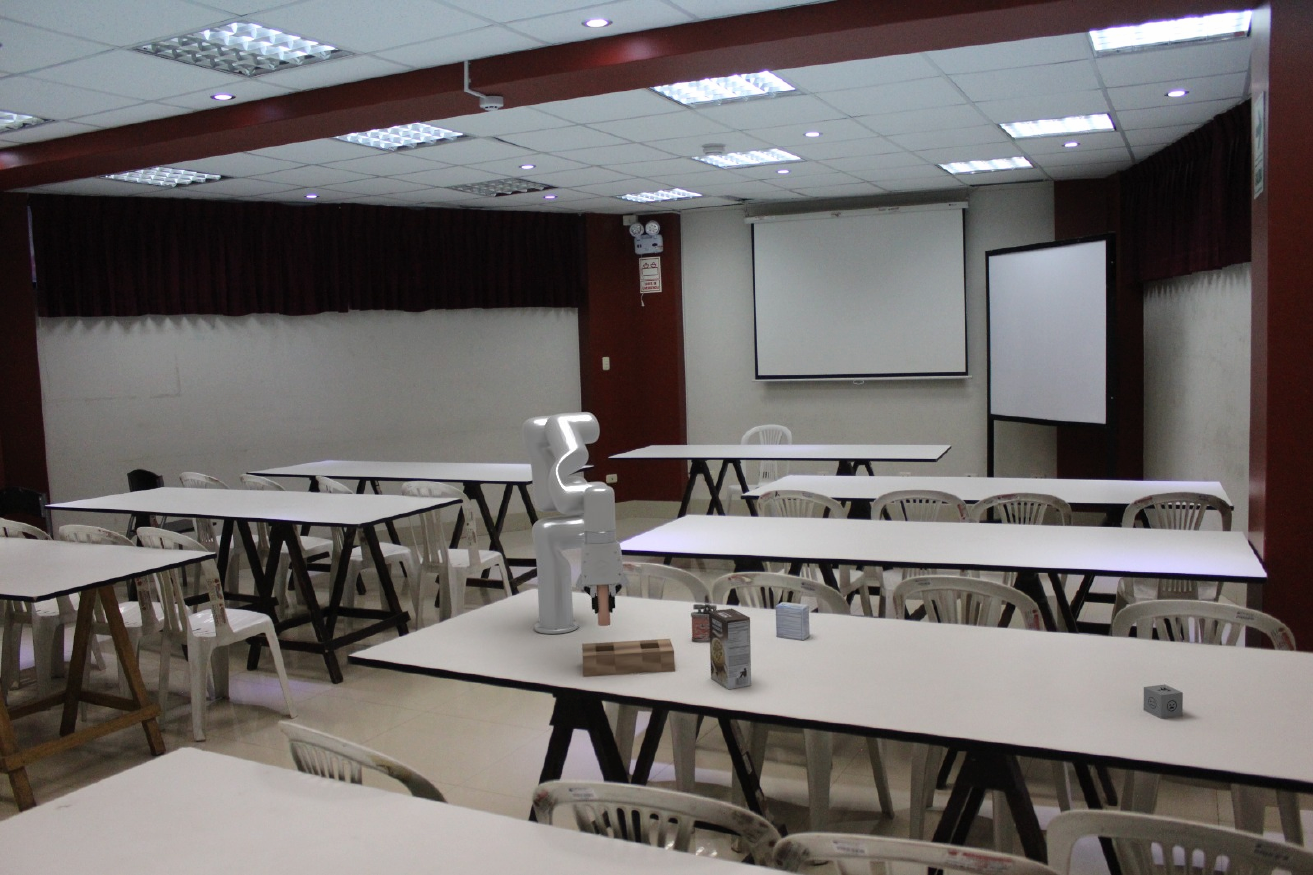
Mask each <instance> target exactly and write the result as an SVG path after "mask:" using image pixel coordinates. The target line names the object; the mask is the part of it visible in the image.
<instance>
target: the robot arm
mask: <svg viewBox="0 0 1313 875" xmlns="http://www.w3.org/2000/svg"><path fill="white" fill-rule="evenodd" d="M599 436H600V423H599V422H598V419H597V417H596V416H595V415H594V414H593V413H591V412H588V411H583V412H582V411H581V412H565V413H563V412H562V413H557V414H553V415H541V416H540V415H539V416H534V417H529V418H528V419H526V420H525V421H524V423H523V424H522V427H521V439H522V443H523V446H524V450H525V452H526V454H527V457H528V461H529V462H530V467H531V468H530V470H531V479H532V489H533V491H532V492H533V499H534V505H535V508H536V509H537V510H538V511H539V512H542V513H554V512H557V513H558V512H559V513H560V514H561V515H559V516H549V517H544V518H540V519H538V520H537V521H535V523H534V524H533V525H532V527H531V528H532V529H531V537H532V540H533V541H532V542H533V547H534V551H535V559H536V560H535V561H536V573H537V576H536V577H537V580H536V581H537V597H538V598H537V600H538V601H537V602H538V618H539V619H538V622H536V623H534V625H533V630H534V631H535V632H536V633H540V634H547V635H553V634H555V635H556V634H557V635H558V634H566V633H570V632H573V631H575V630H577V629H578V628H579V627H580V623H579V621H578V620H577V619H574V610H573V609H574V608H573V606H574V605H573V604H574V603H573V585H572V583H573V581H572V566H571V563H570V561H569V560H568V558H566V556H564V555H563V553H562V552H563V551H568V550H573V549H574V550H575V549H577V550H578V549H581V552H580V574H579V576H578V578H577V580H576V582H575V587H576V588H578V589H579V590H582V591H584V592H585V593H586V594H587V595H588V596H589V597H590V598H591V599H590V600H591V610H592V611H593V610H594V614H595V615H598V602H597V592H596V590H597V587H596V586H597V585H609V608H610V614H613V612H614V610H613V609H616V596H617V594H618V593H619V592H620V591H621V590H622V589H623V588H625V587H626V586H628V585H630V580H629V578H628V577H627V575H626V573H625V572H624V564H623V562H624V561H623V554H622V548H621V542H619V541H618V540H617V528H616V523H617V522H616V503H615V501H616V500H615V490H614V489H613V487H611V486H610V485H607V483H605V482H603V481H590V482H588V481H587V480H586V479H585V478H584V477H583V476H579V475H573V476H570V475H572V474H574V473H576V472H577V471H579V470H580V469H582V468H583V467H584V466H585V465H586V464H587V462H588V461H589V455H590V454H589V451H588V449H587V446H586V445H587V444H593V443H594V444H595V442H597V441H598V439H599Z"/></svg>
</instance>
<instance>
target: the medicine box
mask: <svg viewBox="0 0 1313 875" xmlns="http://www.w3.org/2000/svg"><path fill="white" fill-rule="evenodd" d="M809 606H810V605H809V604H804V603H803V604H801V603H795V602H786V601H783V602H782V601H781V602H780V603H778V604H777V605H775V628H776V629H775V631H776V632H775V633H776V634H775V635H776V637H777V638H784V639H791V640H797V641H804V640H806V639H807V638H808V637H810V635H811V634H810V632H811V631H810V609H809V608H810V607H809Z"/></svg>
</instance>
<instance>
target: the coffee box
mask: <svg viewBox="0 0 1313 875" xmlns="http://www.w3.org/2000/svg"><path fill="white" fill-rule="evenodd" d="M709 630H710V643H709V655H710V657H709V658H710V678H711V679H712V680H713V681H715V682H716V683H718V684H720V685H721V686H722V687H724V688H725V689H727V690H732V689H734V690H735V689H738V688H745V687H749V686H752V663H751V662H752V661H751V660H752V659H751V657H752V654H751V617H750V616H748V615H746V614H743V613H742V612H740V611H737V610H736V609H734V608H727V609H726V608H725V609H716V610H715V611H713V610H712V611H710V612H709Z"/></svg>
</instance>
